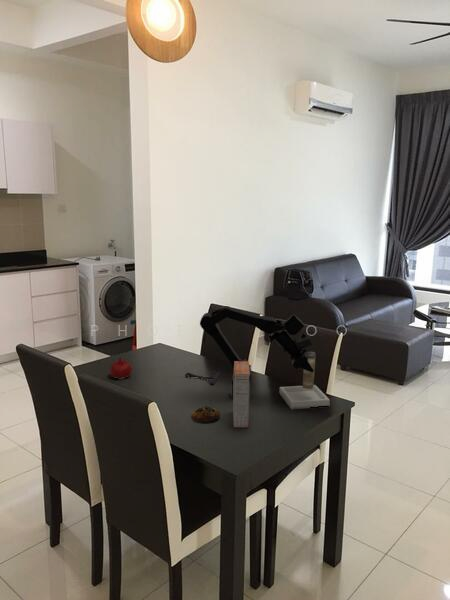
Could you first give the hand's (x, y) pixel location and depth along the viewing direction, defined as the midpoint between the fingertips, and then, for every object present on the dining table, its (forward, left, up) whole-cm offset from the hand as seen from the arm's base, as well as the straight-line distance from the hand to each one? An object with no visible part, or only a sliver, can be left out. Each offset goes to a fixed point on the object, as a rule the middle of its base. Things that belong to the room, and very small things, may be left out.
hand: (312, 369), depth 206 cm
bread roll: (-45, -9, -14) cm, 48 cm away
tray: (-3, +1, -13) cm, 14 cm away
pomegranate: (-77, +39, -14) cm, 87 cm away
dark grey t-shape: (-41, +32, -14) cm, 54 cm away
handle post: (-1, 0, -8) cm, 8 cm away
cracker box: (-33, -13, -14) cm, 38 cm away
